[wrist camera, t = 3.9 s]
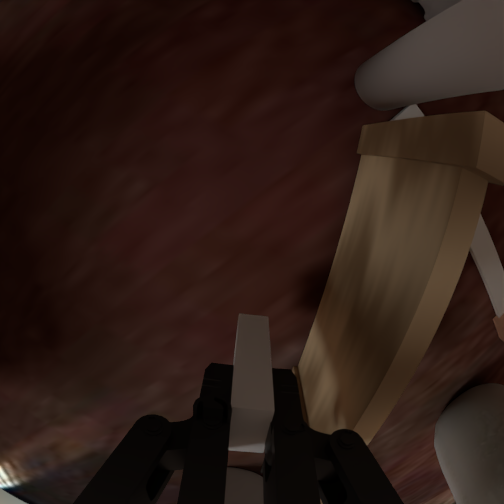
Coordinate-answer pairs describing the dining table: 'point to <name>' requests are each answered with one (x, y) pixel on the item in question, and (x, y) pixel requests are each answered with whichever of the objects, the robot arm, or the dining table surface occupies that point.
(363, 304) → the gate
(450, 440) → the white tapered flask
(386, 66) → the fence
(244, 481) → the mug
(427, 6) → the bottle
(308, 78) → the dining table surface
